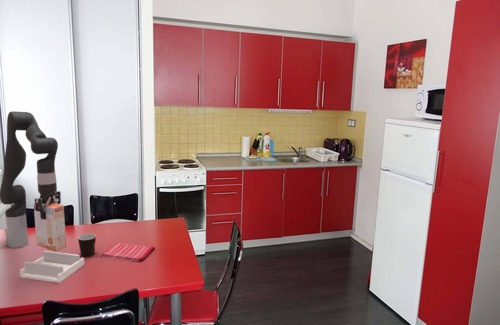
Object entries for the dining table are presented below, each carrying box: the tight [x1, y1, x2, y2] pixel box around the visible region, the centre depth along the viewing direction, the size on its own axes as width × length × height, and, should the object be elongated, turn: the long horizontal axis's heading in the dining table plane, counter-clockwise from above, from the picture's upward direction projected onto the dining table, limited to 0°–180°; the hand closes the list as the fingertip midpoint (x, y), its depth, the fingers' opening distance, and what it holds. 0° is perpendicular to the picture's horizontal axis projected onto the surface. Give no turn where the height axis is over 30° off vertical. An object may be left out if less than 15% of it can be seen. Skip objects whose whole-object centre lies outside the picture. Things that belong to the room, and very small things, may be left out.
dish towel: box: [99, 242, 156, 263], centre depth 197 cm, size 17×24×3 cm
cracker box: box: [33, 202, 67, 252], centre depth 171 cm, size 14×6×21 cm, turn 62°
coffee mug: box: [77, 233, 97, 258], centre depth 194 cm, size 12×9×10 cm
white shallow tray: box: [19, 250, 85, 284], centre depth 175 cm, size 20×18×6 cm
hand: (49, 216), depth 171 cm, fingers closed on cracker box, 7 cm apart
